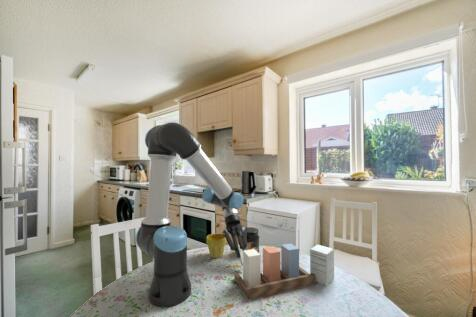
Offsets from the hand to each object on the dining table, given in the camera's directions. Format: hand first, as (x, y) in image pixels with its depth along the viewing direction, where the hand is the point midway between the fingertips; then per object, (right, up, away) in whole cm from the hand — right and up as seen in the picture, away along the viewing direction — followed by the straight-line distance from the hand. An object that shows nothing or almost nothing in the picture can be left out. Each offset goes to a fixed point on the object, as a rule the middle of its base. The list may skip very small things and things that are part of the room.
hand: (243, 264), depth 96 cm
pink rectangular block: (+11, -3, -6) cm, 13 cm away
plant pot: (-14, -4, +17) cm, 22 cm away
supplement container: (+4, -4, +21) cm, 22 cm away
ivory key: (+3, -3, -9) cm, 10 cm away
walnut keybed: (+12, -3, -8) cm, 15 cm away
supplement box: (+33, -4, -6) cm, 33 cm away
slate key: (+20, -3, -3) cm, 20 cm away
